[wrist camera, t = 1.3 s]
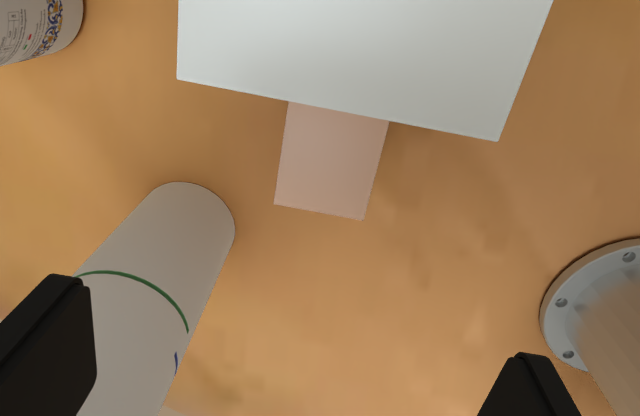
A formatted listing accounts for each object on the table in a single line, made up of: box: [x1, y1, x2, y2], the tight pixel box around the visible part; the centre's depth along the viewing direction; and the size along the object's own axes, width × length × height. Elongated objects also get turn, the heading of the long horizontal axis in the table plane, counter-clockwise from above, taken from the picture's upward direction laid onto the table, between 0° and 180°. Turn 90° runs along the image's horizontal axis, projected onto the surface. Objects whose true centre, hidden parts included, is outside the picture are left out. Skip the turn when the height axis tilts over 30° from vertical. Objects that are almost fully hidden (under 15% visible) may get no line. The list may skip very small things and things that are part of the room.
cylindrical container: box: [71, 182, 235, 416], centre depth 21 cm, size 7×7×25 cm
